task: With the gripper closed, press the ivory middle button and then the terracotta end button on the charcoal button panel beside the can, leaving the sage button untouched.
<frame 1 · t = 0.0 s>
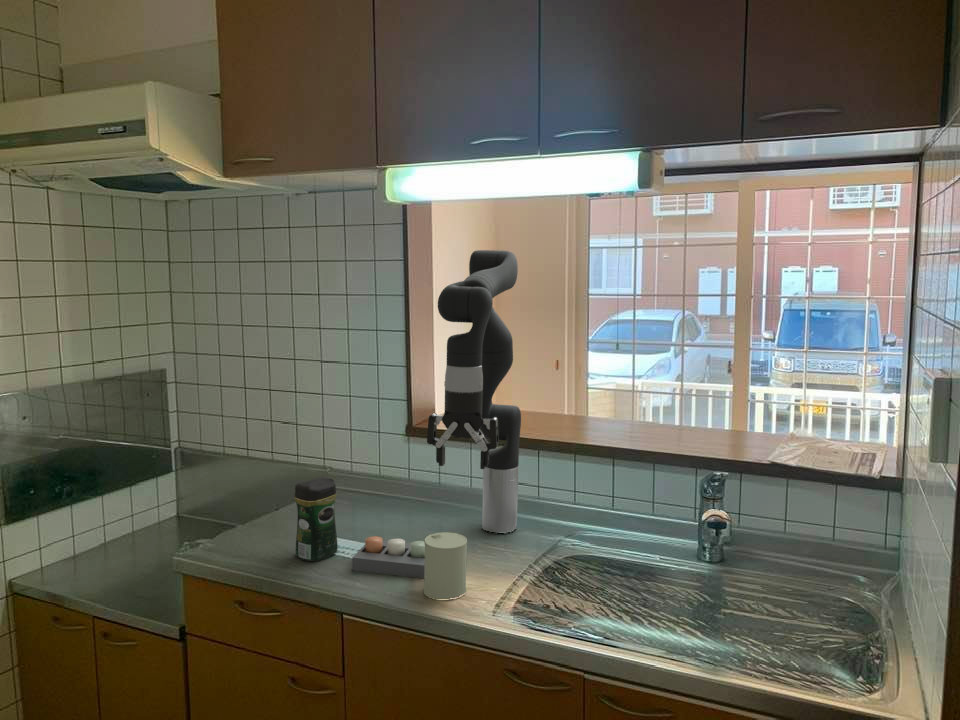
hand: (462, 466, 149), 29 cm above the counter, tool pointing down, fingers open, 8 cm apart
button panel: (396, 563, 172), on the counter
sage button: (419, 550, 171), point 4 cm above the counter, slide at 0.0 cm
terracotta button: (373, 545, 173), point 4 cm above the counter, slide at 0.0 cm
coffee jar: (316, 555, 176), on the counter
can: (444, 592, 159), on the counter
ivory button: (396, 548, 172), point 4 cm above the counter, slide at 0.0 cm
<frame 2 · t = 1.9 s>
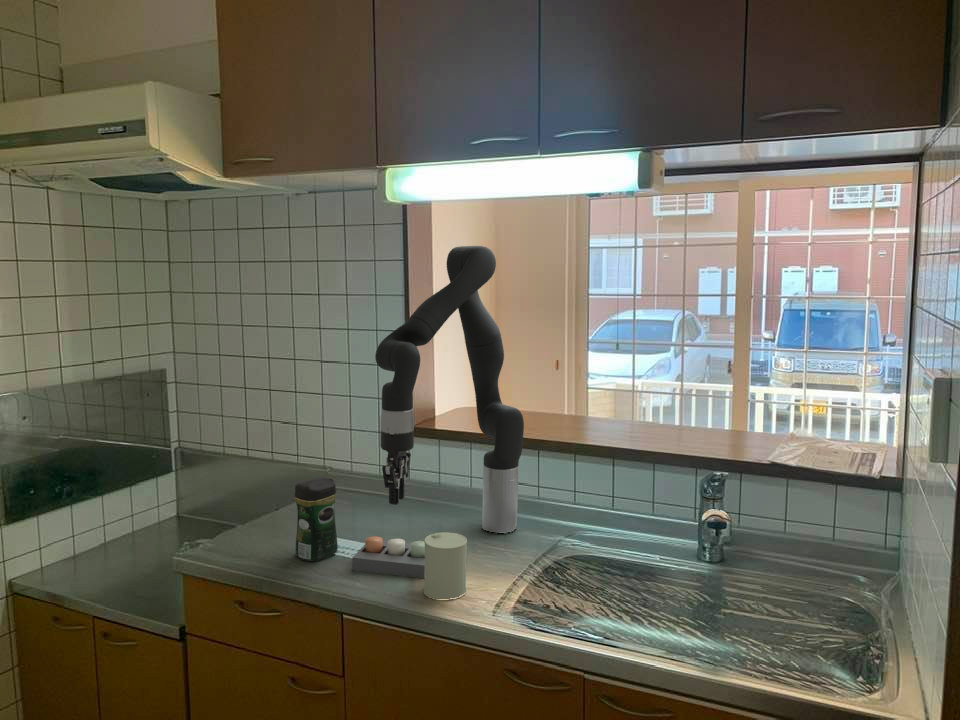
hand: (396, 500, 170), 15 cm above the counter, tool pointing down, fingers open, 3 cm apart
nothing on the counter moved.
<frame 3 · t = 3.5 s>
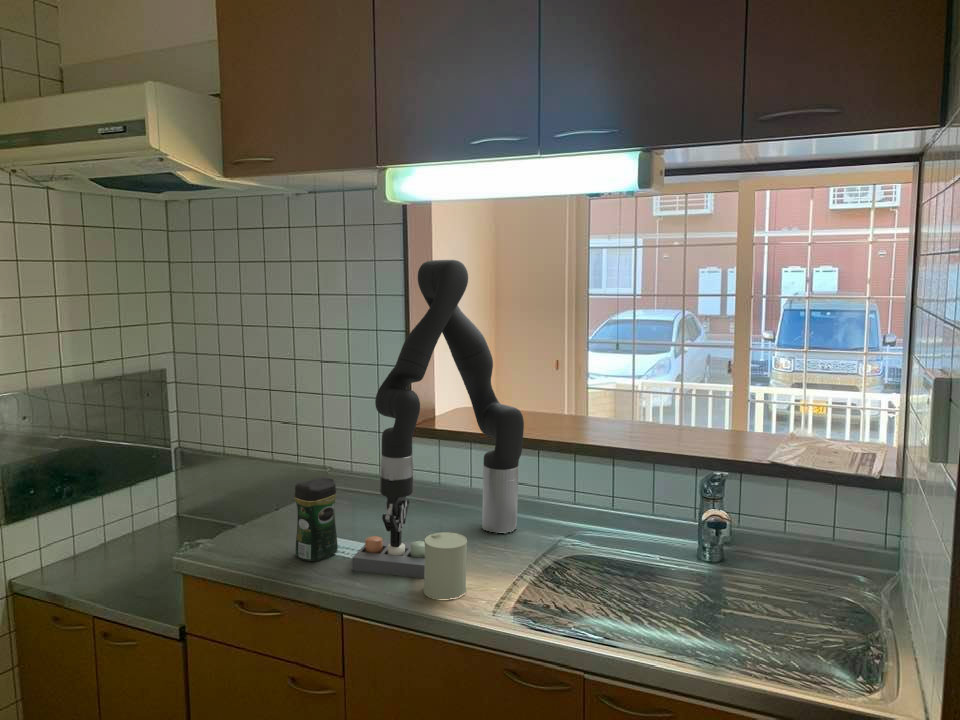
hand: (395, 545, 172), 4 cm above the counter, tool pointing down, fingers closed
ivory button: (396, 551, 172), point 3 cm above the counter, slide at 1.0 cm, touching gripper
everything else where it was.
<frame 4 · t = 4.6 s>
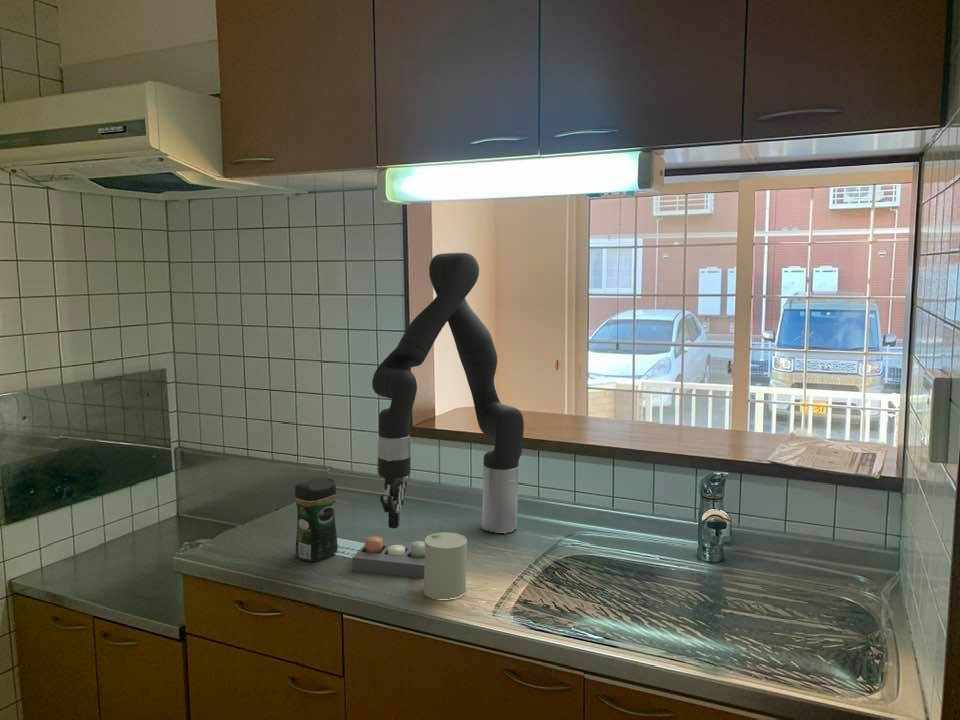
hand: (393, 527, 171), 9 cm above the counter, tool pointing down, fingers closed
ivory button: (396, 554, 172), point 2 cm above the counter, slide at 1.6 cm
everything else where it was.
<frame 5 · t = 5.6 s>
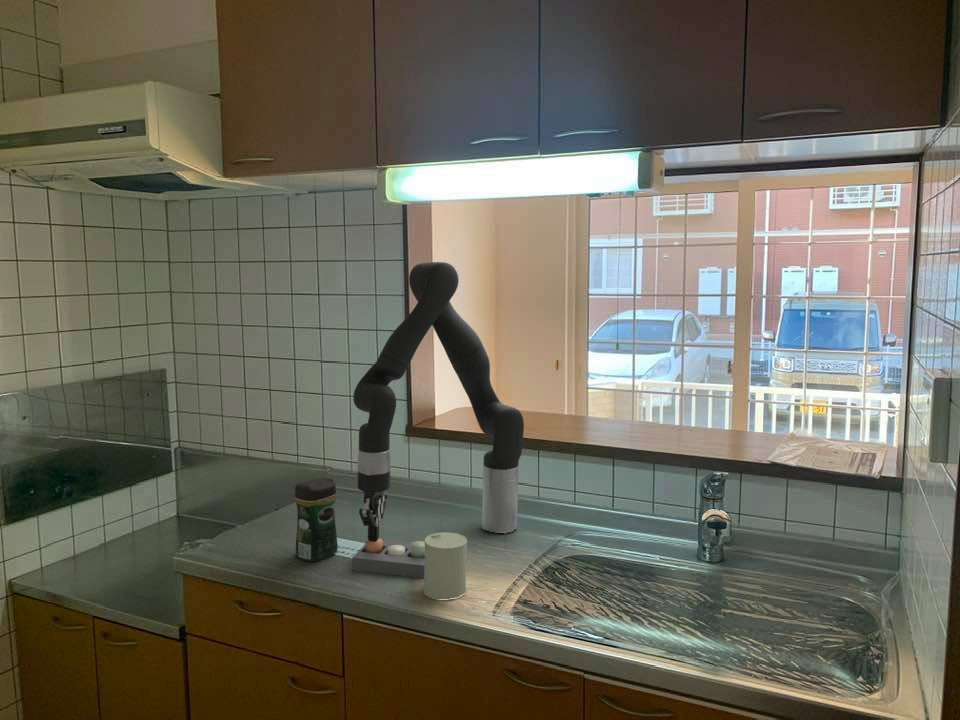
hand: (373, 540, 173), 5 cm above the counter, tool pointing down, fingers closed
terracotta button: (373, 546, 173), point 4 cm above the counter, slide at 0.2 cm, touching gripper
everything else where it was.
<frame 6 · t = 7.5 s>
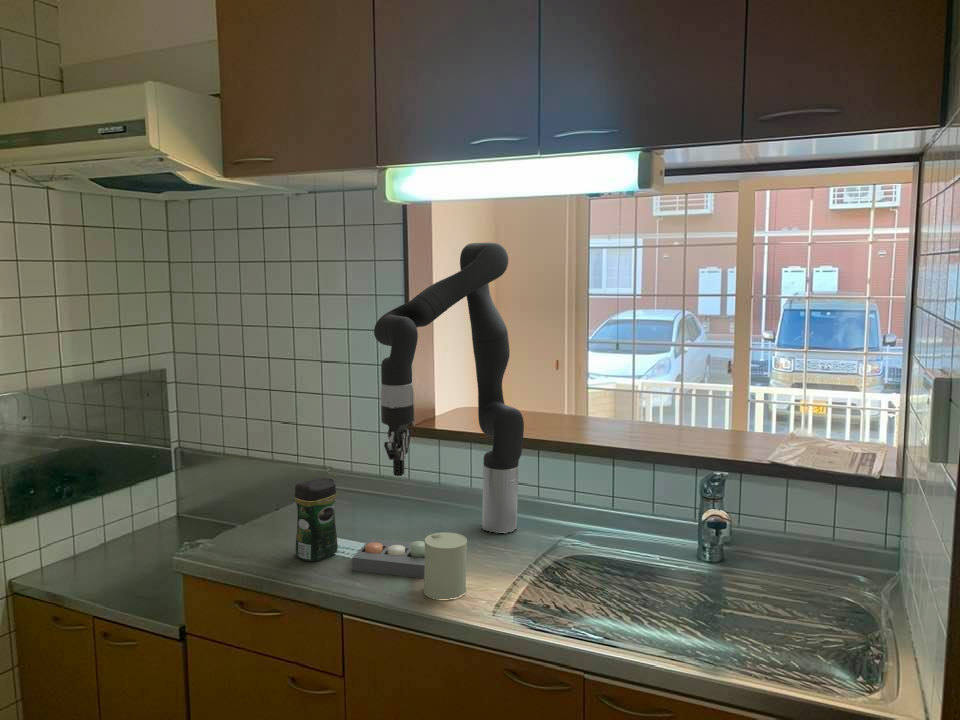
hand: (399, 474, 173), 20 cm above the counter, tool pointing down, fingers closed
terracotta button: (373, 551, 173), point 2 cm above the counter, slide at 1.5 cm
everything else where it was.
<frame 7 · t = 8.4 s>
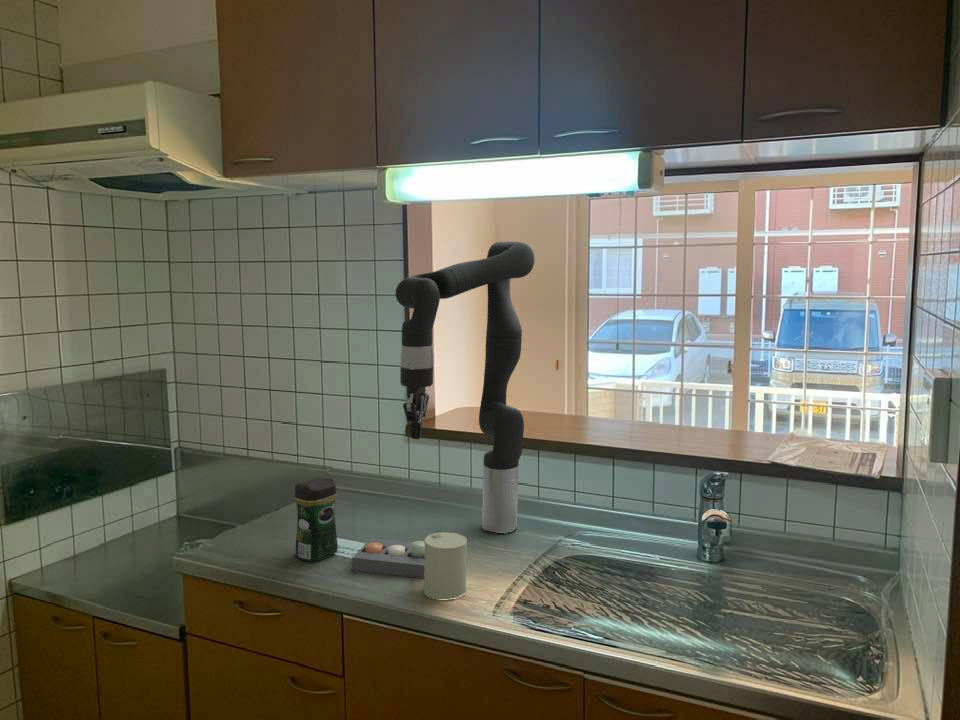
hand: (416, 438, 173), 29 cm above the counter, tool pointing down, fingers closed
nothing on the counter moved.
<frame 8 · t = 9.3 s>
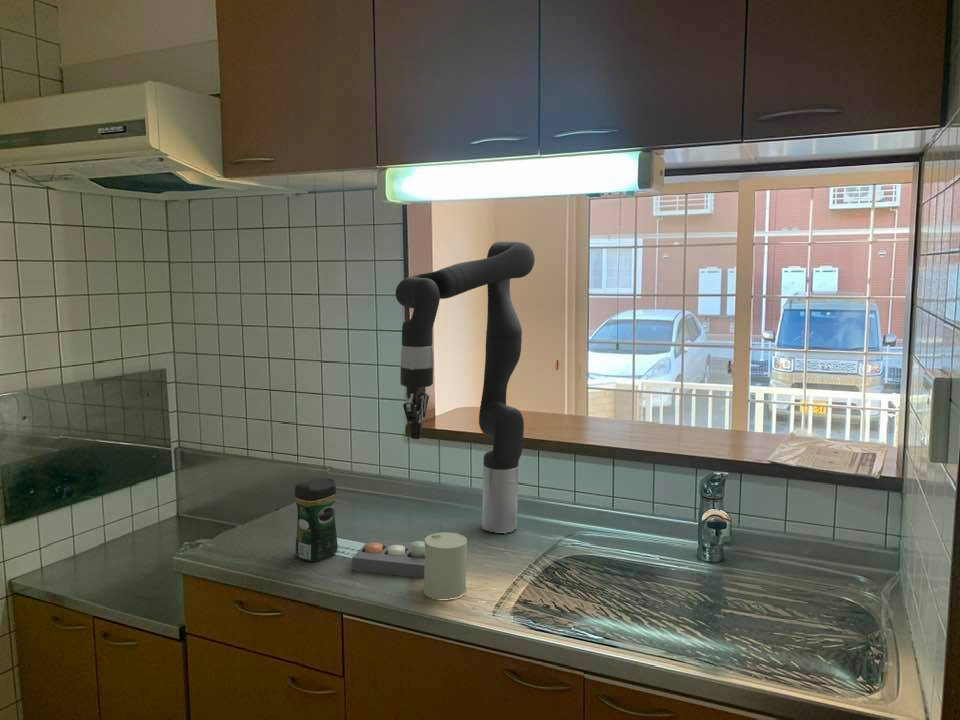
hand: (416, 438, 173), 29 cm above the counter, tool pointing down, fingers closed
nothing on the counter moved.
at the end: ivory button slide at 1.6 cm; terracotta button slide at 1.5 cm; sage button slide at 0.0 cm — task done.
